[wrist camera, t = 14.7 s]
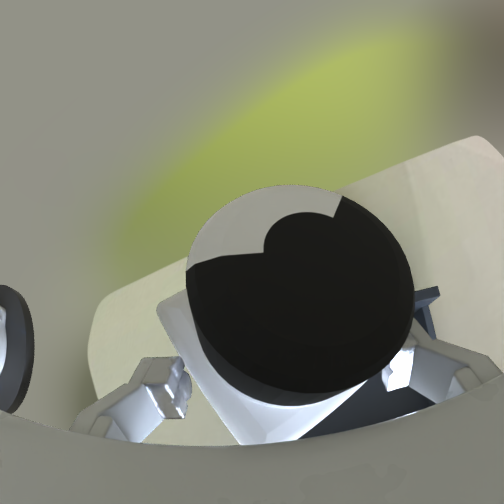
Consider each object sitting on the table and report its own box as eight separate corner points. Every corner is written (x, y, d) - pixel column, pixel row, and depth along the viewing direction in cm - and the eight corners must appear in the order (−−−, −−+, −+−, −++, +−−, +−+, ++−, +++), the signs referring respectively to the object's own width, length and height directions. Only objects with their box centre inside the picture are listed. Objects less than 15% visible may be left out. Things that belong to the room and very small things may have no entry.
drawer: (431, 430, 23) (465, 437, 16) (275, 467, 25) (268, 490, 18) (409, 309, 30) (437, 285, 23) (260, 339, 31) (248, 322, 24)
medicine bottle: (343, 382, 16) (479, 284, 6) (247, 453, 13) (290, 492, 4) (274, 298, 19) (319, 137, 10) (178, 354, 16) (113, 216, 7)
